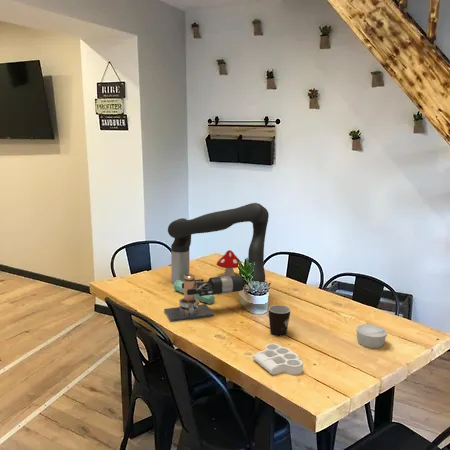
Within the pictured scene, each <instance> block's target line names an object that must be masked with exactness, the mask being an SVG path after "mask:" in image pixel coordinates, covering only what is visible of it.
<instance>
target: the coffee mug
mask: <svg viewBox="0 0 450 450" xmlns="http://www.w3.org/2000/svg"><path fill="white" fill-rule="evenodd" d="M291 310H292V309H291V308H290V307H289V306H287V305H282V304H281V305H280V304H274V305H270V306H269V307H268V320H269V332H270V334H271V335H272V336H274V337H284V336H287V335H288V334H287V332H288V327H289V323H290V322H289V321H290V315H291Z"/></svg>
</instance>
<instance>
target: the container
mask: <svg viewBox="0 0 450 450" xmlns="http://www.w3.org/2000/svg"><path fill="white" fill-rule="evenodd" d="M182 283H184V282H182V281H181V280H177V281H176V282H175V283H174V284H173V290H174V291H175V292H180V293H182V294H184V288H182ZM194 289H195V288H194ZM194 298H196V299H198V301H199V302H203V303H204V304H206V305H211V304H214V302H215V301H216V297H215V295H206V296H199V295H196V294H194Z"/></svg>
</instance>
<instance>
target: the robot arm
mask: <svg viewBox="0 0 450 450" xmlns="http://www.w3.org/2000/svg"><path fill="white" fill-rule="evenodd" d="M269 217H270V216H269V211H268V210H267V207H264V206H263V205H262V204H260V203H258V202H252V203H247V204H245V205H241V206H239V207H235V208H230V209H225V210H219V211H214V212H210V213H205V214H202V215H199V216H197V217H195V218H191V219H187V218H178V219H175V220H173V221H171V223H169V224H168V227H167V233H168V235H169V236H170V237H171V238H174V240H173V242H172V244H171V246H170V253H171V254H170V257H171V262H170V263H171V264H170V265H171V267H170V269H171V272H170V273H171V276H170V277H171V284H172V285H174V283H175V282H176V281H177V280H181V281H182V282H184V275H187V274H190V246H191V244H192V235H197V234H204V233H205V234H206V233H214V232H219V231H220V232H221V231H225V230H226V229H229V228H230V227H232V226H234V225H236V224H238V223H239V224H240V223H245V222H246V223H248V222H249V223H251V224H252V230H253V231H252V237H251V241H250V243H249V247H248V254H247V256H248V257H247V262H248V261H249V263H253V262H255V265H254V275H253V280H254V281H259V282H265V283H266V271H265V266H264V260H265V259H264V258H265V254H264V252H265V241H266V234H267V226H268V222H269ZM241 276H242V275H234V276H224V275H222V276H215V277H214V276H213V277H209V278H208V280H207V281H205V280H204V279H203V278H202V279H195V280H194V288H195V289H189V290H187V295H194V294H196V295H199V296H206V295H213V296H215V295H223V294H228V293H236V292H237V293H238V292H241V291H242V290H243V285H244V280H243V278H242V277H241ZM182 288H184V283H182ZM242 292H243V291H242Z"/></svg>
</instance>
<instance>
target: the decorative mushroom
mask: <svg viewBox="0 0 450 450" xmlns="http://www.w3.org/2000/svg"><path fill="white" fill-rule="evenodd" d="M237 259H238V260H239V261H240V262H241V263H243V262H242V261H241V259H239V258H238V256H237V255H236V254H235V253H234V251H232V250H229V249H228V250H227V251H226V252H224V253H223V255H222V257H220V259H218V260H217V262H216V266H218V267H219V268H222V269H225V270H224V273H223V276H235V270H234V269H236V268H239V267H238V260H237Z"/></svg>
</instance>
